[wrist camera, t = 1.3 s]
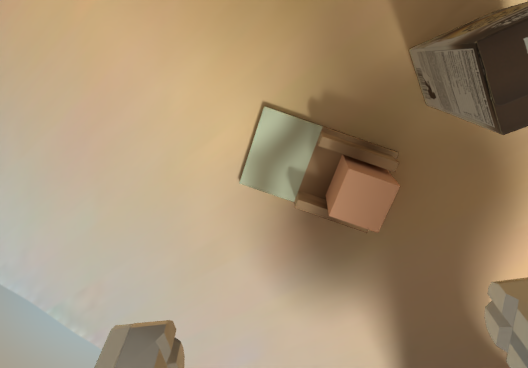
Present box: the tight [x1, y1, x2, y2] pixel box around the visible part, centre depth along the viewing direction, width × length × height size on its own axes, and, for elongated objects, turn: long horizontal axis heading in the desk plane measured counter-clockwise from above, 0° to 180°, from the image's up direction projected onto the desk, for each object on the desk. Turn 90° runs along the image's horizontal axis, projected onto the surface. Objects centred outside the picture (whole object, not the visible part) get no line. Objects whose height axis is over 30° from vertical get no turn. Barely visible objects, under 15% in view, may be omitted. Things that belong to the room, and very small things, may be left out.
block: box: [326, 154, 400, 233], centre depth 39 cm, size 5×5×6 cm
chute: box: [240, 106, 399, 233], centre depth 41 cm, size 15×9×4 cm, turn 72°
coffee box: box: [409, 2, 528, 135], centre depth 30 cm, size 9×6×16 cm
